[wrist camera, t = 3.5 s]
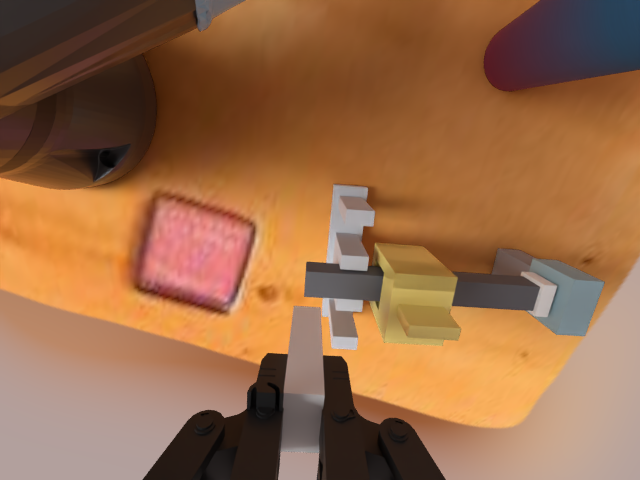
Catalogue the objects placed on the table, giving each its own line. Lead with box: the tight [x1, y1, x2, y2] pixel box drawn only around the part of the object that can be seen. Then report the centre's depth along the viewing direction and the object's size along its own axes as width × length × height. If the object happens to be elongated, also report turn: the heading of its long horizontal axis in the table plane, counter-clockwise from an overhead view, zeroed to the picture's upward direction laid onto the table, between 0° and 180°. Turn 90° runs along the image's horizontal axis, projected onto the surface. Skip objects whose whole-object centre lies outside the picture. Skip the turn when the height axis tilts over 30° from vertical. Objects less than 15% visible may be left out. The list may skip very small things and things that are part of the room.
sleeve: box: [369, 243, 461, 346], centre depth 22 cm, size 4×5×9 cm
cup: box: [484, 0, 640, 91], centre depth 19 cm, size 7×7×15 cm
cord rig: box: [304, 184, 605, 350], centre depth 27 cm, size 21×13×9 cm, turn 85°
